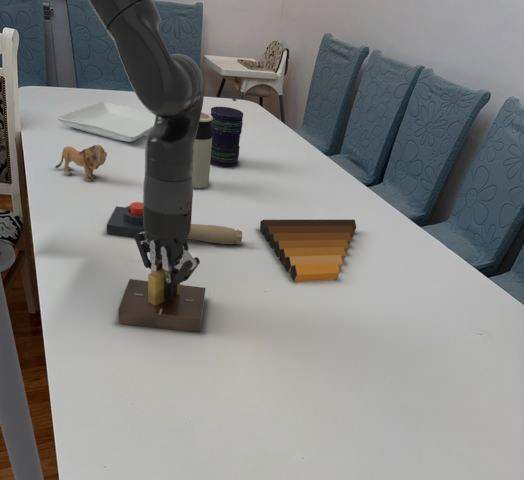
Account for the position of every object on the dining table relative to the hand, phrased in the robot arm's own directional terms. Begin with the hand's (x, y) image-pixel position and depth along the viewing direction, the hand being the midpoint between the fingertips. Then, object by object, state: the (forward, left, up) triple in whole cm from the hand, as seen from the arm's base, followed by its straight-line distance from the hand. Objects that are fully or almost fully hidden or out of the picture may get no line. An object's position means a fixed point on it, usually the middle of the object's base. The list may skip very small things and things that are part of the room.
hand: (164, 295), depth 88 cm
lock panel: (0, 0, -4) cm, 4 cm away
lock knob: (0, 0, 0) cm, 1 cm away
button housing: (-10, +32, -4) cm, 34 cm away
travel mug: (0, +63, -4) cm, 63 cm away
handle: (+14, +30, -2) cm, 33 cm away
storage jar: (+7, +84, -4) cm, 84 cm away
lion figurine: (-29, +58, -4) cm, 65 cm away
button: (-10, +32, 0) cm, 33 cm away
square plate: (-29, +102, -4) cm, 106 cm away
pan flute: (+34, +31, -4) cm, 46 cm away
